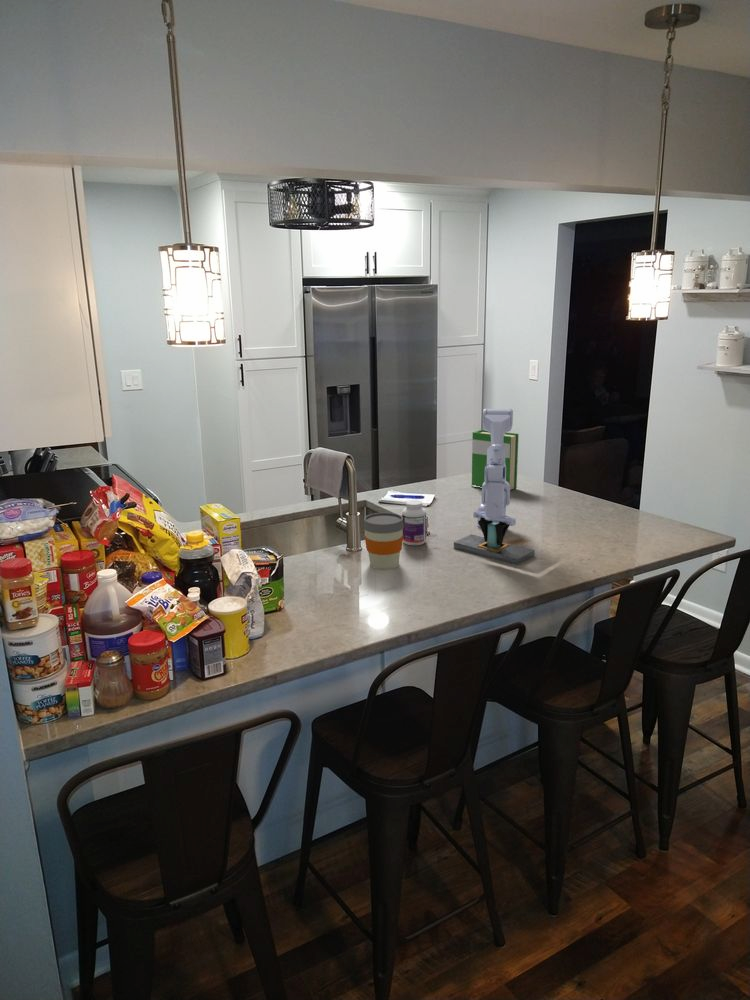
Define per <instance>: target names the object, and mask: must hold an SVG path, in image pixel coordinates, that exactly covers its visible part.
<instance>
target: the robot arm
mask: <svg viewBox="0 0 750 1000" xmlns="http://www.w3.org/2000/svg"><path fill="white" fill-rule="evenodd" d="M482 410H483V411H482V427H483V430H485V431H488V432H490V435H491V446H490V447H489V448H488V450H487V467H486V466H485V482H484V483H483V485H482V489H481V504H480V505H479V507H478V509H477V510H475V511H473V518H474V519H476V518H477V523H476V525H477V527H478V528H480V529H481V532H482V535H483V537H484V539H485V542H487V534H488V524H489V523H498V524H496V525H495V528H496V533H497V545H500V544H502V542H503V539H505V535H506V533H507V532H508V529H509V527H514V526H515V525H516V523H517V522H516V518H514V517H510V516H508V515H507V506H508V507H509V505H510V503H511V490H510V485H509V483H508V482H507V481H506V464H505V448H504V447H503V440H504V435H505V433H506V432H507V433H509V432H511V430H512V429H513V423H514V422H513V421H514V419H513V417H514V411H513V409H512V408H484V409H482ZM503 478H504V479H505V480H504V479H503Z"/></svg>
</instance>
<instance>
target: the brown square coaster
mask: <svg viewBox="0 0 750 1000" xmlns="http://www.w3.org/2000/svg"><path fill="white" fill-rule="evenodd" d="M503 542H504V543H508V544H512V545H517V546H521V547H523V546H524V545H526V544H528V543H529V542H532V540H531V539H526V538H522V537H518V536H514V535H509V536H507V537H504V539H503Z"/></svg>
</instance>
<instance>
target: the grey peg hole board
mask: <svg viewBox="0 0 750 1000" xmlns="http://www.w3.org/2000/svg"><path fill="white" fill-rule="evenodd" d="M453 549H457V550H460V551H464V552H468V553H471V554H474V555H479V556H482V557H485V558H490V559H493V560H497V561H501V562H505V563H508V564H512V565H515V566H518V565H521V564H522V563H524V562H526V561H528V560H529V559H532V558H533V557H535V549H532V548H529V547H525V546H524V547H523V546H517V545H512V544H508V543H504V542H502V544H500V548H498V549H493V548H489V547H487V542H485V539H484V536H481V535H475V534H472V533H471V534H469V535H467V536H464V537H462V538H460V539H458V540H455V541H453ZM455 551H456V550H455ZM457 552H458V551H456V553H457ZM466 555H469V554H466ZM477 558H480V557H478V556H477ZM503 565H505V566H506V564H503ZM515 566H514V568H516V569H517V567H515Z"/></svg>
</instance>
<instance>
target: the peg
mask: <svg viewBox="0 0 750 1000" xmlns="http://www.w3.org/2000/svg"><path fill="white" fill-rule="evenodd" d="M496 524H498V523H489V524H488V534H487V547H489V548H493V549H498V548H500V545H497V533H496V528H495V525H496Z"/></svg>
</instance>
